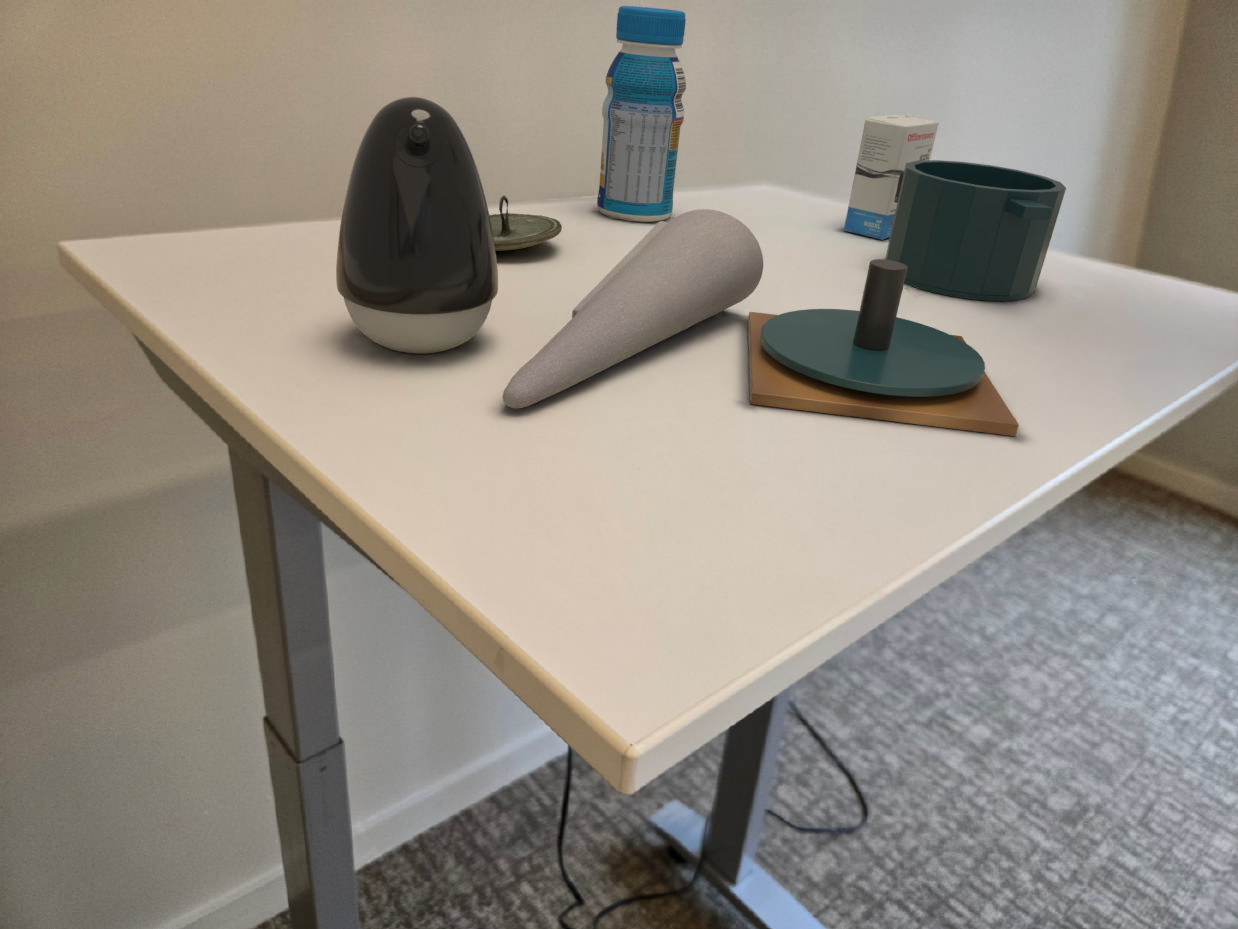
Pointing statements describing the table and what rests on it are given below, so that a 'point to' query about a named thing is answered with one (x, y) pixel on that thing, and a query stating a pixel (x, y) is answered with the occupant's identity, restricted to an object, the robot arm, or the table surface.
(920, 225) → the pot
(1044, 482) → the table surface
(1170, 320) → the table surface
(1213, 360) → the table surface
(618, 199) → the beverage bottle
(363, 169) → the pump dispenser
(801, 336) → the pot lid
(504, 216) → the lid
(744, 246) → the grey cone
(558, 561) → the table surface
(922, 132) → the ink box
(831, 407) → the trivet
